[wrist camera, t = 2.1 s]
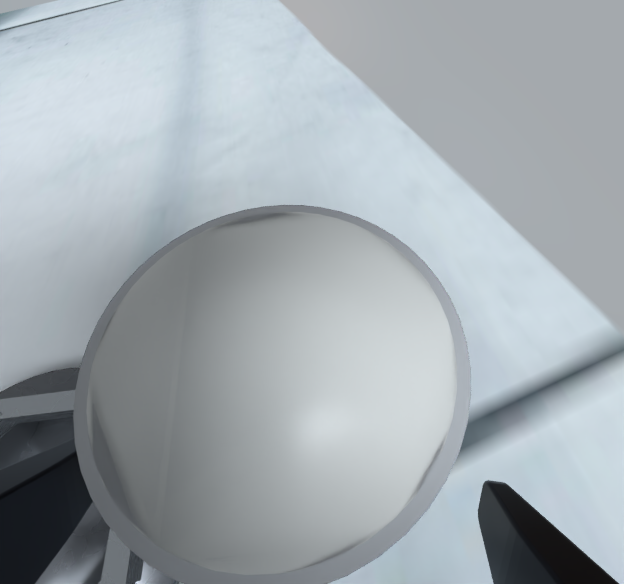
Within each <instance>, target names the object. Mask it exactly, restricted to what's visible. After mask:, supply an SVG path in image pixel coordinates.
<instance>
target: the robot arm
mask: <svg viewBox="0 0 624 584" xmlns="http://www.w3.org/2000/svg"><path fill="white" fill-rule="evenodd" d="M92 502H93V500H92V498H91V496H90V494H89V491H88V489H87V486H86V483H85V481H84V478H83V476H82V473H81V470H80V465H79V461H78V456H77V451H76V446H75V438H74V439H72V440H69V441H67V442H65V443H62V444H60V445H57V446H55V447H53V448H50V449H48V450H46V451H43V452H41V453H39V454H36V455H34V456H31V457H29V458H27V459H24V460H22V461H20V462H17V463H15V464H13V465H10V466H8V467H5V468H3V469H1V470H0V584H35V583H36V582H37V581H38V579H39V578H40V577H41V575H42V574H43V573H44V571H45V570H46V569H47V567H48V566H49V565H50V563H51V562H52V561H53V559H54V558H55V557H56V555H57V554H58V553H59V551H60V550H61V549H62V547H63V546H64V544H65V543H66V542H67V540H68V539H69V538H70V536H71V535H72V533H73V532H74V530H75V529H76V527H77V526H78V524H79V523H80V521H81V520H82V518H83V517H84V515H85V513H86V512H87V510H88V509H89V507H90V506H91V504H92ZM478 519H479V524H480V529H481V533H482V537H483V541H484V545H485V549H486V554H487V558H488V562H489V566H490V570H491V574H492V579H493V583H494V584H619V583H618V582H617V581H615V580H614V579H613V578H612V577H611V576H610V575H609V574H608V573H606V572H605V571H604V570H603V569H602V568H601V567H600V566H599V565H597V564H596V563H595V562H594V561H593V560H592V559H591V558H590V557H588V556H587V555H586V554H585V553H584V552H583V551H582V550H581V549H579V548H578V547H577V546H576V545H575V544H574V543H573V542H572V541H570V540H569V539H568V538H567V537H566V536H565V535H564V534H563V533H561V532H560V531H559V530H558V529H557V528H556V527H555V526H554V525H552V524H551V523H550V522H549V521H548V520H547V519H546V518H545V517H543V516H542V515H541V514H540V513H539V512H538V511H537V510H536V509H534V508H533V507H532V506H531V505H530V504H529V503H528V502H527V501H525V500H524V499H523V498H522V497H521V496H520V495H519V494H518V493H516V492H515V491H514V490H513V489H512V488H511V487H510V486H508V485H507V484H506V483H503V482H497V481H489V480H488V481H485V482H484V484H483V488H482V493H481V498H480V503H479V508H478Z"/></svg>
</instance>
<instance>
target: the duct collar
mask: <svg viewBox="0 0 624 584" xmlns="http://www.w3.org/2000/svg"><path fill="white" fill-rule="evenodd" d="M79 370H80V368H68V369H62V370H57V371H52V372H48V373H45V374H42V375H38V376H35V377H32V378H30V379H27V380H25V381H23V382H20V383H18V384H15V385H13V386H12V387H10V388H8V389H6V390H4V391H2V392H0V470H1V469H3V468H5V467H8V466H10V465H13V464H15V463H17V462H20V461H22V460H24V459H27V458H29V457H31V456H34V455H36V454H39V453H41V452H43V451H46V450H48V449H50V448H53V447H55V446H57V445H60V444H62V443H65V442H67V441H69V440H72V439H74V438H75V437H74V421H73V413H74V400H75V389H76V385H77V380H78V375H79ZM35 584H179V582H178V581H176V580H174V579H173V578H171V577H169V576H167V575H165V574H164V573H162V572H160V571H158V570H156V569H155V568H153V567H151V566H149V565H148V564H147V563H146V562H144V561H143V560H142V559H141V558H140V557H138V556H137V555H136V554H135V553H134V552H132V551H131V550H130V549H129V548H127V547H126V546H125V545H124V544H123V542H122V541H121V540H120V539H119V538H118V537H117V535H116V534H115V533H114V532H113V531H112V529H111V528H110V527H109V526H108V525H107V524H106V522H105V521H104V519H103V517H102V515H101V514H100V512H99V510H98V509H97V507H96V505H95V504H94V502H92V504H91V506H90V507H89V509H88V510H87V512H86V513H85V515H84V517H83V518H82V520H81V521H80V523H79V524H78V526H77V527H76V529H75V530H74V532H73V533H72V535H71V536H70V538H69V539H68V540H67V542H66V543H65V544H64V546H63V547H62V549H61V550H60V551H59V553H58V554H57V555H56V557H55V558H54V559H53V561H52V562H51V563H50V565H49V566H48V567H47V569H46V570H45V571H44V573H43V574H42V575H41V577H40V578H39V579H38V581H37V582H36V583H35Z"/></svg>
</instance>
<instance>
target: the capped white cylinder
mask: <svg viewBox="0 0 624 584" xmlns="http://www.w3.org/2000/svg"><path fill="white" fill-rule="evenodd" d="M470 399H471V366H470V360H469V354H468V347H467V342H466V338H465V335H464V332H463V328H462V325H461V322H460V318H459V316H458V314H457V312H456V310H455V308H454V305H453V303H452V301H451V299H450V297H449V295H448V294H447V292H446V290H445V289H444V287H443V286H442V284H441V282H440V281H439V279H438V278H437V277H436V275H435V274H434V273H433V272H432V271H431V269H430V268H429V267H428V266H427V264H426V263H425V262H424V261H423V260H422V259H421V258H420V257H419V256H418V255H417V254H416V253H415V252H414V251H412V250H411V249H410V248H409V247H408V246H407V245H405V244H404V243H403V242H401V241H400V240H399V239H397V238H396V237H395V236H393V235H392V234H390V233H388V232H387V231H385V230H383V229H381V228H380V227H378V226H376V225H374V224H372V223H370V222H367V221H365V220H363V219H361V218H358V217H355V216H352V215H349V214H346V213H343V212H340V211H335V210H331V209H326V208H321V207H313V206H304V205H278V206H265V207H259V208H253V209H247V210H243V211H239V212H236V213H232V214H228V215H225V216H222V217H220V218H217V219H214V220H211V221H209V222H206V223H204V224H202V225H200V226H198V227H196V228H194V229H192V230H190V231H188V232H186V233H185V234H183V235H181V236H180V237H178V238H176V239H175V240H173V241H171V242H170V243H169V244H167V245H166V246H164V247H163V248H162V249H160V250H159V251H158V252H156V253H155V254H154V255H153V256H152V257H150V258H149V259H148V260H147V261H146V262H145V263H144V264H142V265H141V266H140V267H139V268H138V269H137V270H136V271H135V272H134V273H133V275H132V276H131V277H130V278H129V279H128V280H127V281H126V282H125V283H124V284H123V286H122V287H121V288H120V290H119V291H118V292H117V293H116V295H115V296H114V297H113V299H112V300H111V301H110V303H109V305H108V306H107V308H106V309H105V311H104V313H103V314H102V316H101V318H100V319H99V321H98V323H97V325H96V327H95V329H94V332H93V334H92V336H91V338H90V340H89V342H88V345H87V348H86V351H85V354H84V357H83V360H82V363H81V366H80V370H79V375H78V380H77V385H76V389H75V400H74V413H73V421H74V437H75V446H76V451H77V456H78V461H79V465H80V470H81V473H82V476H83V478H84V481H85V483H86V486H87V489H88V491H89V494H90V496H91V498H92V500H93V502H94V504H95V505H96V507H97V509H98V510H99V512H100V514H101V515H102V517H103V519H104V521H105V522H106V524H107V525H108V526H109V527H110V528H111V529H112V531H113V532H114V533H115V534H116V535H117V537H118V538H119V539H120V540H121V541H122V542H123V544H124V545H125V546H126V547H127V548H129V549H130V550H131V551H132V552H134V553H135V554H136V555H137V556H138V557H140V558H141V559H142V560H143V561H144V562H146V563H147V564H148V565H149V566H151V567H153V568H155V569H156V570H158V571H160V572H162V573H164V574H165V575H167V576H169V577H171V578H173V579H174V580H176V581H178V582H181V583H184V584H327V583H330V582H332V581H335V580H337V579H340V578H343V577H345V576H348V575H349V574H351V573H353V572H354V571H356V570H358V569H360V568H361V567H363V566H365V565H366V564H368V563H370V562H371V561H373V560H375V559H376V558H378V557H379V556H381V555H382V554H383V553H384V552H385V551H387V550H388V549H389V548H390V547H391V546H393V545H394V544H395V543H396V542H397V541H399V540H400V539H401V538H402V537H403V536H405V535H406V534H407V533H408V532H409V530H410V529H411V528H412V527H413V526H414V525H415V524H416V522H417V521H418V520H419V519H420V518H421V517H422V516H423V514H424V513H425V512H426V511H427V510H428V509H429V507H430V506H431V504H432V503H433V501H434V499H435V498H436V496H437V495H438V493H439V492H440V490H441V488H442V487H443V485H444V484H445V482H446V481H447V478H448V476H449V474H450V472H451V469H452V467H453V465H454V463H455V460H456V458H457V456H458V454H459V451H460V448H461V444H462V441H463V437H464V433H465V430H466V426H467V422H468V415H469V407H470Z"/></svg>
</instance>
